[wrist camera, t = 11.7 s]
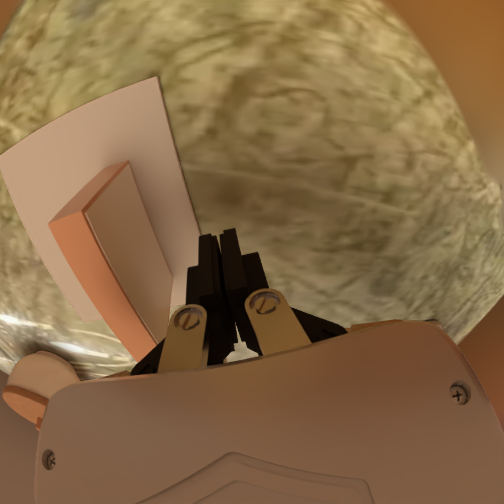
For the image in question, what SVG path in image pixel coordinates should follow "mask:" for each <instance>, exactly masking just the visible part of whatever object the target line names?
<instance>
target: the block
mask: <svg viewBox="0 0 504 504" xmlns="http://www.w3.org/2000/svg"><path fill="white" fill-rule="evenodd" d="M48 226H49V228H50V230H51V232H52V234H53V236H54V238H55V240H56V242H57V244H58V246H59V248H60V250H61V251H62V253H63V255H64V257H65V259H66V260H67V262H68V264H69V266H70V267H71V269H72V271H73V272H74V274H75V276H76V277H77V279H78V281H79V282H80V284H81V286H82V287H83V289H84V290H85V292H86V293H87V295H88V297H89V298H90V300H91V301H92V303H93V304H94V306H95V307H96V308H97V310H98V311H99V313H100V314H101V316H102V317H103V318H104V320H105V321H106V323H107V324H108V325H109V327H110V328H111V329H112V331H113V332H114V333H115V335H116V336H117V337H118V339H119V340H120V341H121V343H122V344H123V345H124V346H125V348H126V349H127V350H128V351H129V353H130V354H131V355H132V356H133V357H134V359H135V360H136V361H137V362H140V361H141V360H142V359H143V358H144V357H145V356H146V355H147V354H148V353H149V352H150V351H151V350H152V349H153V348H154V347H155V346H157V345H158V344H159V343H160V342H161V341H162V340H163V339H164V338H165V337H166V334H167V330H168V324H169V312H170V302H171V293H172V284H173V277H172V274H171V272H170V270H169V267H168V265H167V263H166V260H165V258H164V256H163V253H162V251H161V248H160V246H159V243H158V241H157V238H156V236H155V233H154V231H153V228H152V226H151V223H150V221H149V218H148V215H147V213H146V210H145V207H144V204H143V202H142V199H141V196H140V193H139V190H138V188H137V185H136V182H135V179H134V176H133V173H132V170H131V167H130V164H129V161H128V160H127V161H124V162H121V163H118V164H115V165H113V166H110V167H107V168H105V169H102V170H101V171H100V172H99V173H98V174H97V175H96V176H95V177H93V178H92V179H91V180H90V181H89V182H88V183H87V184H86V185H85V186H84V187H83V188H82V189H81V190H80V191H79V192H78V193H77V194H76V195H75V196H74V197H73V198H72V199H71V200H70V201H69V202H68V203H67V204H66V205H65V206H64V207H63V208H62V209H61V210H60V211H59V212H58V213H57V214H56V215H55V216H54V217H53V219H52V220H51V221H50V222H49V223H48Z"/></svg>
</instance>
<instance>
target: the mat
mask: <svg viewBox="0 0 504 504" xmlns="http://www.w3.org/2000/svg"><path fill="white" fill-rule="evenodd" d="M127 160H128V161H129V164H130V167H131V170H132V173H133V176H134V179H135V182H136V185H137V188H138V190H139V193H140V196H141V199H142V202H143V204H144V207H145V210H146V213H147V215H148V218H149V221H150V223H151V226H152V228H153V231H154V233H155V236H156V238H157V241H158V243H159V246H160V248H161V251H162V253H163V256H164V258H165V260H166V263H167V265H168V267H169V270H170V272H171V274H172V277H173V284H172V293H171V302H170V307H173V306H178V305H183V304H186V283H187V269H188V267H192V266H196V265H198V244H199V236H201V234H200V231H199V227H198V224H197V221H196V217H195V214H194V211H193V207H192V204H191V201H190V197H189V194H188V190H187V187H186V183H185V180H184V176H183V173H182V169H181V166H180V162H179V158H178V155H177V151H176V147H175V143H174V139H173V136H172V132H171V128H170V124H169V120H168V116H167V112H166V108H165V104H164V100H163V95H162V91H161V87H160V82H159V78H158V76H156V77H153V78H150V79H147V80H144V81H141V82H138V83H135V84H132V85H129V86H127V87H124V88H122V89H119V90H116V91H114V92H112V93H109V94H107V95H104V96H102V97H100V98H98V99H95V100H93V101H91V102H89V103H87V104H85V105H82V106H80V107H78V108H76V109H74V110H72V111H70V112H68V113H67V114H65V115H63V116H61V117H59V118H57V119H56V120H54V121H52V122H50V123H48V124H47V125H45V126H43V127H42V128H40V129H38V130H37V131H35V132H34V133H32V134H30V135H29V136H27V137H26V138H24V139H23V140H21V141H20V142H18V143H17V144H15V145H14V146H13V147H11V148H10V149H8V150H7V151H6V152H4V153H3V154H2V155H0V169H1V172H2V175H3V178H4V181H5V183H6V186H7V189H8V191H9V194H10V196H11V198H12V201H13V203H14V205H15V208H16V210H17V212H18V214H19V217H20V219H21V221H22V223H23V225H24V227H25V229H26V231H27V233H28V235H29V237H30V239H31V241H32V243H33V245H34V247H35V248H36V250H37V252H38V254H39V256H40V257H41V259H42V261H43V263H44V264H45V266H46V268H47V269H48V271H49V273H50V274H51V276H52V277H53V279H54V281H55V282H56V284H57V285H58V287H59V288H60V290H61V291H62V293H63V294H64V296H65V297H66V299H67V300H68V302H69V303H70V305H71V306H72V307H73V309H74V310H75V312H76V313H77V314H78V316H79V317H80V318H81V320H82V321H83V322H89V321H95V320H101V319H104V318H103V317H102V316H101V314H100V313H99V311H98V310H97V308H96V307H95V306H94V304H93V303H92V301H91V300H90V298H89V297H88V295H87V293H86V292H85V290H84V289H83V287H82V286H81V284H80V282H79V281H78V279H77V277H76V276H75V274H74V272H73V271H72V269H71V267H70V266H69V264H68V262H67V260H66V259H65V257H64V255H63V253H62V251H61V250H60V248H59V246H58V244H57V242H56V240H55V238H54V236H53V234H52V232H51V230H50V228H49V226H48V223H49V222H50V221H51V220H52V219H53V217H54V216H55V215H56V214H57V213H58V212H59V211H60V210H61V209H62V208H63V207H64V206H65V205H66V204H67V203H68V202H69V201H70V200H71V199H72V198H73V197H74V196H75V195H76V194H77V193H78V192H79V191H80V190H81V189H82V188H83V187H84V186H85V185H86V184H87V183H88V182H89V181H90V180H91V179H92V178H93V177H95V176H96V175H97V174H98V173H99V172H100V171H101V170H102V169H105V168H107V167H110V166H113V165H115V164H118V163H121V162H124V161H127Z"/></svg>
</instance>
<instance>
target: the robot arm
mask: <svg viewBox="0 0 504 504" xmlns="http://www.w3.org/2000/svg"><path fill="white" fill-rule="evenodd" d="M223 232H224V234H220V235H219V236H220V246H221V252H220V248H219V244H218V241H217V237H216V236H212V235H211V233H210V234H206V235H202V236H199V244H198V265H196V266H192V267H188V269H187V283H186V304H185V306H183V307H181V308H179V309H178V310H176V311H175V312H174V314H173V315H172V316H171V319H170V322H169V326H168V330H167V334H166V337H165V338H164V339H163V340H162V341H161V342H160V343H159V344H158V345H157V346H155V347H154V348H153V349H152V350H151V351H150V352H149V353H148V354H147V355H146V356H145V357H144V358H143V359H142V360H141V361H140V362H138V363H137V364H136V365H135V367H134V368H133V369H132V371H131V372H129V371H128V370H125V371H122V372H119V373H116V374H112V375H109V376H106V377H102V378H99V379H92V380H86V381H81V382H77V383H74V384H70V385H68V386H66V387H64V388H62V389H60V390H58V391H57V392H56V393H54V394H53V396H52V397H51V398H50V400H49V401H48V404H47V406H46V409H45V412H44V415H43V419H42V423H41V427H40V433H39V439H38V445H37V456H36V469H35V504H504V434H503V431H502V428H501V426H500V423H499V421H498V418H497V416H496V413H495V411H494V409H493V407H492V405H491V403H490V401H489V399H488V397H487V395H486V393H485V391H484V389H483V387H482V385H481V384H480V381H479V379H478V378H477V376H476V374H475V372H474V370H473V369H472V367H471V366H470V364H469V363H468V361H467V359H466V358H465V356H464V355H463V353H462V352H461V351H460V349H459V348H458V346H457V345H456V344H455V342H454V341H453V340H452V339H451V338H450V337H449V336H448V334H447V333H446V332H445V331H444V328H443V326H442V325H441V323H440V322H438V321H435V320H434V321H427V322H425V321H418V320H398V319H394V320H387V321H380V322H372V323H364V324H355V325H351V328H344V327H342V326H340V325H338V324H336V323H333V322H330V321H327V320H324V319H322V318H319V317H316V316H313V315H311V314H308V313H305V312H303V311H300V310H297V309H295V308H292V307H290V306H289V304H288V303H287V301H286V299H285V298H284V296H283V295H282V294H281V293H280V292H279V291H277V290H274V289H269V286H268V283H267V280H266V276H265V273H264V270H263V266H262V263H261V260H260V257H259V253H258V252H255V253H250V254H246V255H241V252H240V247H239V243H238V238H237V234H236V230H235V228H232V229H228V230H223ZM235 323H236V324H235ZM236 326H237V329H238V332H239V335H240V338H241V341H242V342H244V341H245V342H246V345H247V348H248V349H250V350H252V351H254V352H256V353H258V357H253V358H249V359H244V360H239V361H234V362H228V363H227V359H226V357H227V356H228V355H229V354H230V352H232V351H235V349H234V343H238V338H237V331H236Z"/></svg>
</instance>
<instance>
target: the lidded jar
mask: <svg viewBox="0 0 504 504" xmlns="http://www.w3.org/2000/svg"><path fill="white" fill-rule="evenodd" d="M77 382H81V381H80V379H79V378H78V376H77V375H76V370H75V369H74V367H73V366H72V365H71V364H70V363H69V362H67V361H66V360H65V359H63V358H62V357H60V356H58V355H56V354H54V353H51V352H48V351H42V350H41V351H37V352H36V353H33V354H29V355H26V356H25V357H23V358H21V359H20V360H19V361H18V362H17V363H16V365H15V366H14V368H13V369H12V371H11V373H10V375H9V378H8V380H7V383H6V386H5V388H4V390H3V393H2V396H3V398H4V400H5V401H6V403H7V404H8V405H9V406H10V407H11V408H12V409H13V410H15V411H16V412H17V413H19V414H20V415H21V416H23V417H25V418H26V419H28V420H29V421H31V422H33V423H35V424H36V429H37V430H39V431H40V427H41V423H42V419H43V415H44V412H45V409H46V406H47V404H48V401H49V400H50V398H51V397H52V396H53V394H54V393H56V392H57V391H58V390H60V389H62V388H64V387H66V386H68V385H70V384H74V383H77Z"/></svg>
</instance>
